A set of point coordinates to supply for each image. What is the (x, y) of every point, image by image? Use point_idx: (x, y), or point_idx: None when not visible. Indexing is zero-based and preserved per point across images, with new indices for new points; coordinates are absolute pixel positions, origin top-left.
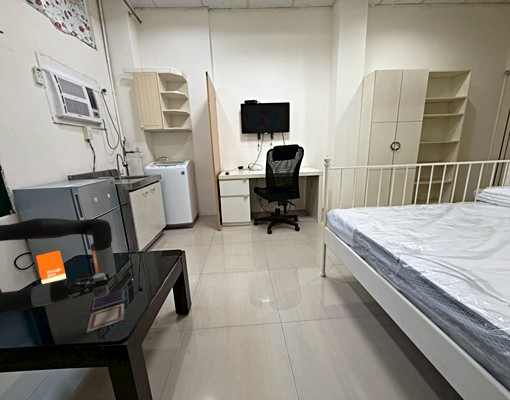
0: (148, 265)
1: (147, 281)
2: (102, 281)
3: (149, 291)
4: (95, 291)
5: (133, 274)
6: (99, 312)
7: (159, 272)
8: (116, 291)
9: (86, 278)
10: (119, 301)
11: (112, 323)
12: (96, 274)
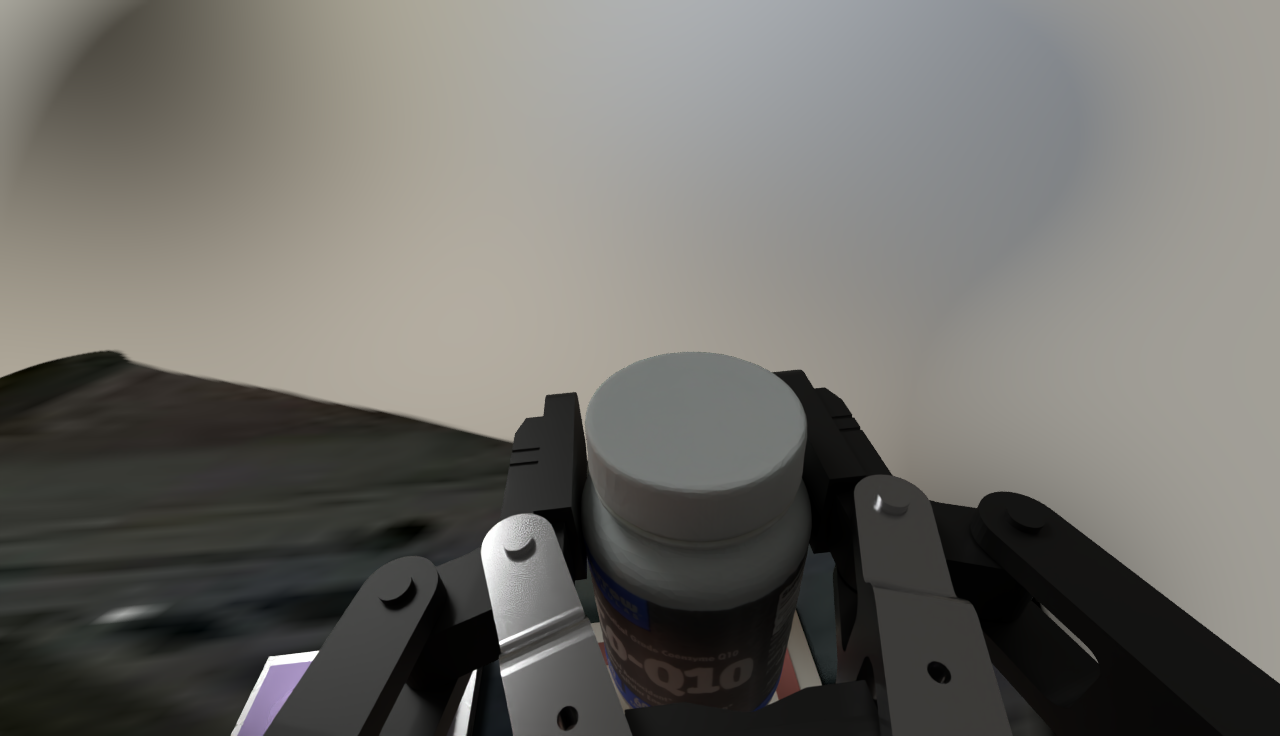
0: (13, 509)
1: (317, 499)
2: (820, 413)
3: (489, 479)
4: (782, 643)
5: (15, 618)
6: None
7: (262, 439)
8: (270, 722)
9: (612, 699)
10: (478, 678)
11: (821, 684)
12: (614, 452)
